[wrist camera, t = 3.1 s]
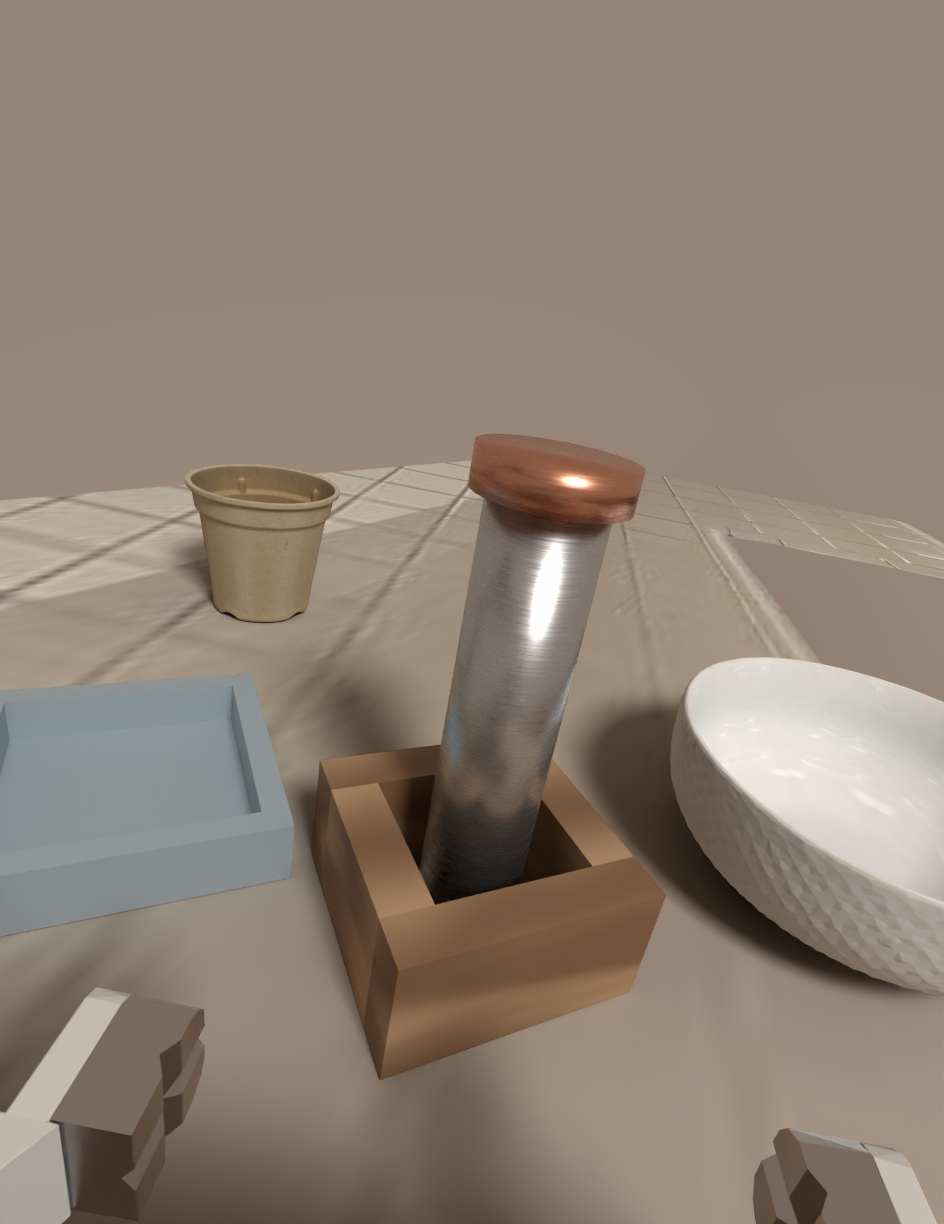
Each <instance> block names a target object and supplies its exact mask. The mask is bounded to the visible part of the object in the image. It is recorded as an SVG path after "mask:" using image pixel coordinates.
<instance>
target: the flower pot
mask: <svg viewBox="0 0 944 1224" xmlns="http://www.w3.org/2000/svg"><path fill="white" fill-rule="evenodd" d="M185 483H186V486H187V487H188V488H189V489H190V490H191V491H192V495H193V500H194V505H195V507H196V508H197V510H198V511H199V513H200V519H201V525H202V531H203V537H204V543H205V548H206V555H207V561H208V567H209V574H210V581H211V588H212V594H213V602H214V605H215V606H216V608H217V609H218V610H219V611H220V612H222V613H224V612H229V613H231V614H233V615H234V616H235V617H237V618H238V619H240V620H244V621H252V622H276V621H283V620H288V619H289V618H290V617H292V616H293V615H294V614H296V613H298V612H300V613H302V612H304V611H305V609H306V608H307V606H308V601H309V595H310V590H311V585H312V581H313V576H314V571H315V566H316V562H317V557H318V552H319V547H320V543H321V538H322V533H323V529H324V524H325V521H326V520H327V519H328V518H329V516H330V513H331V508H332V504H333V502H334V501H336V500H337V499H338V497H339V495H340V490H339V488H338V487H337V485H335V484H334V483H333V482H331V481H329V480H328V479H326V478H323V477H320V476H317V475H314V474H312V473H308V472H304V471H299V470H295V469H289V468H283V467H276V466H265V465H253V464H225V465H215V466H206V467H202V468H198V469H195V470H192V471H190V472H188V474H187V475H186V476H185Z"/></svg>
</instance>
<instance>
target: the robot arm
mask: <svg viewBox="0 0 944 1224" xmlns="http://www.w3.org/2000/svg"><path fill="white" fill-rule="evenodd" d="M204 1025H205V1024H204V1009H199V1008H195V1007H190V1006H185V1005H180V1004H175V1003H170V1002H165V1001H160V1000H155V999H151V998H146V997H141V996H137V995H134V994H130V993H125V992H120V991H115V990H110V989H104V988H99V987H96V988H95V989H94V990H93V991H92V992H91V993H90V994H89V995H88V996H86V997H85V998H84V999H83V1001H82V1002H81V1004H80V1005H79V1006H78V1008H77V1009H76V1011H75V1012H74V1014H73V1015H72V1017H71V1018H70V1019H69V1021H68V1022H67V1024H66V1025H65V1027H64V1028H63V1030H62V1031H61V1032H60V1034H59V1035H58V1037H57V1038H56V1040H55V1041H54V1043H53V1044H52V1045H51V1047H50V1048H49V1050H48V1051H47V1053H46V1054H45V1056H44V1057H43V1059H42V1060H41V1061H40V1063H39V1064H38V1066H37V1067H36V1069H35V1070H34V1072H33V1073H32V1074H31V1076H30V1077H29V1079H28V1080H27V1082H26V1083H25V1085H24V1086H23V1087H22V1089H21V1090H20V1092H19V1093H18V1095H17V1096H16V1098H15V1099H14V1100H13V1102H12V1103H11V1105H10V1106H9V1108H8V1109H7V1111H6V1112H1V1111H0V1224H62V1223H63V1222H64V1221H65V1220H66V1219H67V1218H68V1217H69V1216H70V1215H71V1209H72V1210H78V1211H83V1212H89V1213H94V1214H100V1215H106V1216H111V1217H117V1218H123V1219H128V1220H134V1221H138V1219H139V1217H140V1215H141V1213H142V1210H143V1208H144V1206H145V1204H146V1202H147V1200H148V1197H149V1195H150V1193H151V1191H152V1189H153V1186H154V1184H155V1182H156V1180H157V1178H158V1176H159V1173H160V1171H161V1169H162V1167H163V1165H164V1163H165V1137H166V1136H167V1135H168V1134H170V1133H171V1132H172V1131H173V1130H174V1129H176V1128H177V1127H178V1126H179V1125H181V1124H182V1123H183V1121H184V1118H185V1116H186V1114H187V1112H188V1109H189V1107H190V1105H191V1102H192V1100H193V1098H194V1095H195V1091H196V1088H197V1085H198V1082H199V1079H200V1076H201V1073H202V1067H203V1062H204V1045H203V1044H202V1042H201V1041H200V1040H199V1039H198V1038H199V1035H200V1033H201V1031H202V1029H203V1027H204ZM773 1143H774V1147H775V1150H776V1154H775V1155H773V1156H771V1157H769V1158H766V1159H764V1160H762V1161H761V1163H760V1166H759V1168H758V1170H757V1172H756V1174H755V1176H754V1189H753V1205H754V1214H755V1221H756V1224H937V1222H936V1220H935V1218H934V1216H933V1213H932V1211H931V1209H930V1207H929V1205H928V1202H927V1200H926V1198H925V1196H924V1194H923V1191H922V1189H921V1187H920V1185H919V1183H918V1180H917V1178H916V1176H915V1174H914V1171H913V1169H912V1167H911V1165H910V1163H909V1162H908V1161H907V1159H906V1158H905V1157H904V1156H903V1154H902V1153H901V1152H899V1151H897V1150H894V1149H892V1148H888V1147H883V1146H878V1145H872V1144H867V1143H862V1142H857V1141H856V1140H851V1139H845V1138H840V1137H834V1136H829V1135H823V1134H818V1133H812V1132H807V1131H801V1130H796V1129H790V1128H786V1129H782V1130H779V1132H778V1134H777V1135H776V1137H775V1139H774V1140H773Z"/></svg>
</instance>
